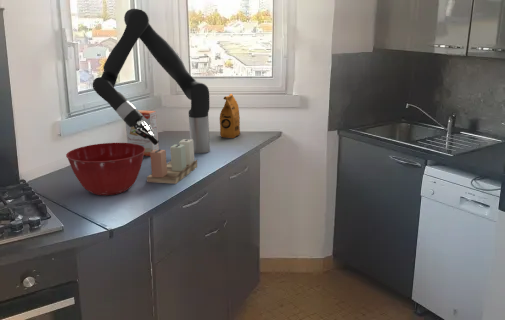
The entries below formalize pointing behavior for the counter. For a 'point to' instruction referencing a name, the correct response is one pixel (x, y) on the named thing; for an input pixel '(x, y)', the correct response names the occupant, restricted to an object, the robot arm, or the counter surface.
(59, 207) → the counter surface
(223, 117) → the coffee package
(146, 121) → the cracker box
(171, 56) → the robot arm
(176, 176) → the board
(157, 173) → the key
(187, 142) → the grey rectangular block
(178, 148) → the grey green block
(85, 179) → the mixing bowl
